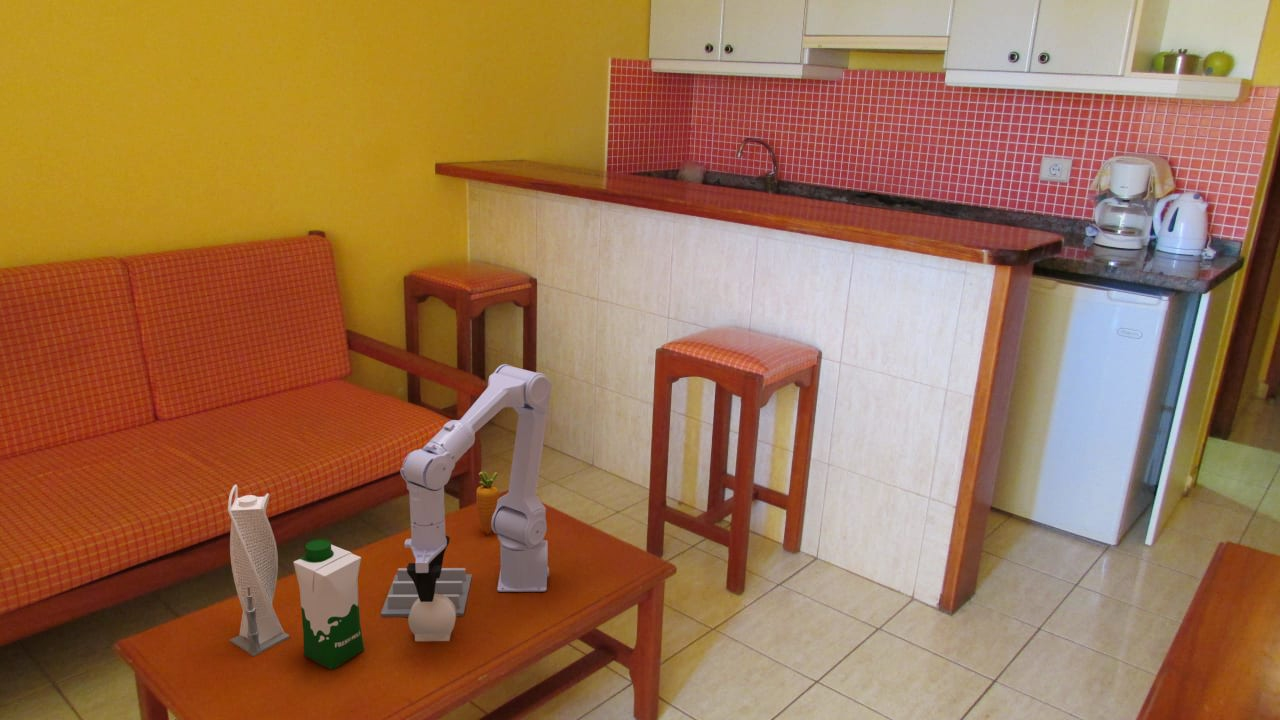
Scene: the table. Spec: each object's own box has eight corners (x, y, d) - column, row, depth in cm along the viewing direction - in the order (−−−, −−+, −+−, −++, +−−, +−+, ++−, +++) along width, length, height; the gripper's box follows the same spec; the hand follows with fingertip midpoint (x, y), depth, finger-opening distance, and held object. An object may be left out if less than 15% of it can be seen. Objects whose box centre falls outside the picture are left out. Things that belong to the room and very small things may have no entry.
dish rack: (471, 576, 178) (471, 563, 178) (463, 616, 165) (463, 601, 164) (395, 577, 177) (394, 563, 176) (380, 616, 164) (379, 602, 163)
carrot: (502, 529, 198) (501, 467, 194) (496, 540, 193) (495, 476, 189) (480, 528, 198) (479, 465, 194) (473, 538, 194) (472, 475, 189)
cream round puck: (457, 632, 160) (455, 593, 158) (455, 640, 158) (454, 600, 155) (411, 633, 159) (409, 593, 157) (409, 641, 157) (407, 601, 155)
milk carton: (337, 632, 159) (330, 530, 153) (372, 649, 154) (366, 545, 149) (295, 656, 152) (286, 551, 146) (331, 675, 147) (323, 567, 142)
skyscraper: (224, 639, 156) (208, 492, 148) (266, 618, 162) (252, 476, 154) (253, 656, 151) (238, 506, 143) (295, 634, 158) (282, 489, 150)
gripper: (411, 499, 159) (414, 567, 163) (395, 538, 145) (398, 611, 149) (451, 499, 159) (453, 567, 163) (439, 538, 146) (441, 611, 149)
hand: (430, 588), depth 156 cm, fingers open, 7 cm apart
